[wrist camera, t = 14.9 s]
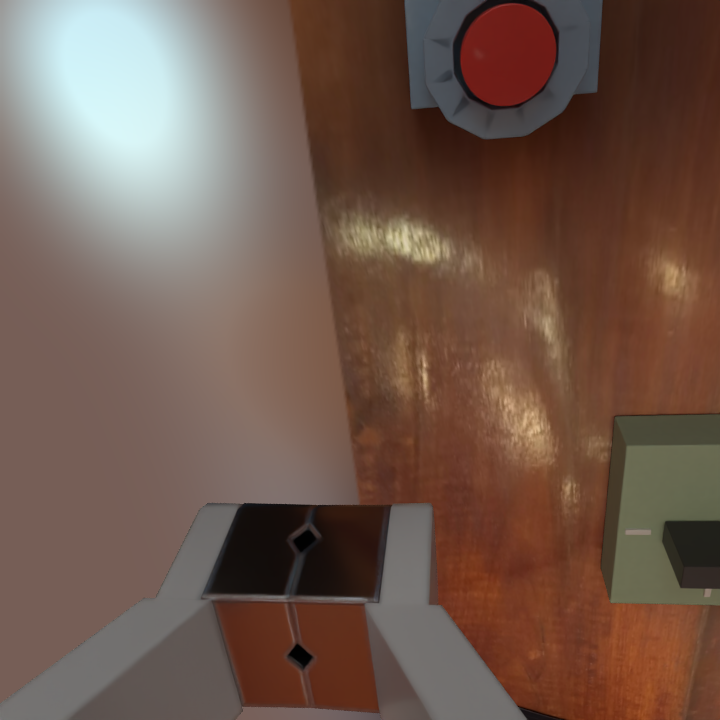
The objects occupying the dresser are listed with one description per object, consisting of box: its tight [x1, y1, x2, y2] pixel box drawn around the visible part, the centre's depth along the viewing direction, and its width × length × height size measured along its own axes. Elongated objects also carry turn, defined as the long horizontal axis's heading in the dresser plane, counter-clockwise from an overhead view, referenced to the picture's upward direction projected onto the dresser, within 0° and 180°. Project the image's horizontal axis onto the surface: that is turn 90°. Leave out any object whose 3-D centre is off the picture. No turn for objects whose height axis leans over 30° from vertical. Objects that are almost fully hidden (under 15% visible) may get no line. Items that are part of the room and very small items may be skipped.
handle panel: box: [601, 414, 720, 605], centre depth 39 cm, size 12×11×3 cm
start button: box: [460, 3, 556, 106], centre depth 26 cm, size 4×4×2 cm
